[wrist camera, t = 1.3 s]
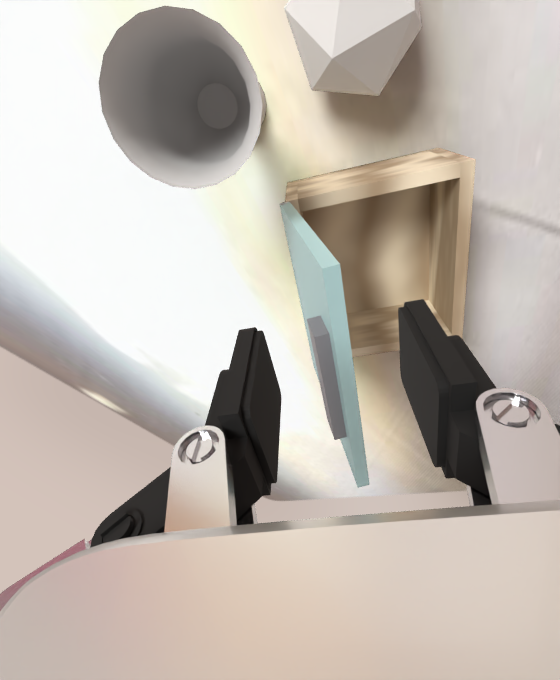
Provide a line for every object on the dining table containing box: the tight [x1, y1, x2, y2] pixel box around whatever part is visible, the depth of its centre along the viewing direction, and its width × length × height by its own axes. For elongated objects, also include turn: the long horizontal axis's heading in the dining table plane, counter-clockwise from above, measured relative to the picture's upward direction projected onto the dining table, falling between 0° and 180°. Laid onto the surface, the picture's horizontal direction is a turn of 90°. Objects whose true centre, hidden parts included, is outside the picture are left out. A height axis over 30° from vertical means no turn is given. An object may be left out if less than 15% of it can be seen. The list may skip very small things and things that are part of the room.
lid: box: [280, 202, 369, 487], centre depth 26 cm, size 14×16×2 cm
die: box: [284, 0, 422, 96], centre depth 24 cm, size 8×9×10 cm
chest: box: [285, 148, 476, 357], centre depth 34 cm, size 14×16×8 cm
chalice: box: [99, 6, 266, 189], centre depth 23 cm, size 7×7×18 cm
